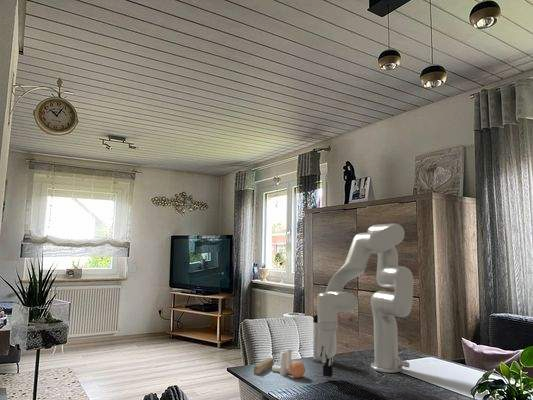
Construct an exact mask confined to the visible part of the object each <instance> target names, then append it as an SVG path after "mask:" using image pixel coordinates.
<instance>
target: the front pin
mask: <svg viewBox="0 0 533 400" xmlns="http://www.w3.org/2000/svg"><path fill="white" fill-rule="evenodd" d="M271 372H274V373H280V365H275V364H274V365H273V366H272V367H271ZM286 375H291V373H290V368H289V367H287V371H286Z"/></svg>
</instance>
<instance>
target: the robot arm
mask: <svg viewBox="0 0 533 400" xmlns="http://www.w3.org/2000/svg"><path fill="white" fill-rule="evenodd" d="M404 238H405V230H404V227H403V226H402V225H400V224H399V223H382V224H380V223H379V224H373V225H370V226H369V227H368V229H367V232H360V233H357V234H355V235H354V236H353V239H352V240H351V244H350V246H349V251H348V254H347V255H346V257H345V258H346V259H345V261H344V264H343V265H342V266H341V267H340V268H339V269H338V270H337V271H336V272H335V273H334V274H333V276H332V277H331V278H330V279H329V282H328V285H327V287H326V290H325V292H320V293H318V295H317V315H318V330H319V332H318V344H317V357H318V358H320V357H321V356H322V371H323V372H322V373H323V374H322V375H323V377H328V378H331V377H332V376H333V374H334V372H333V368H334V367H333V364H334V363H333V362H334V361H333V359H334V356H335V355H336V354H337V333H336V332H337V331H339V330H338V312H343V313H351V312H353V311H354V310H355V309H356V308H357V306H358V299H357V297H356V295H354V294H353V293H351V292H347V291H343V289H344V287H345V286H346V285H347V284H348V283H349V282H350V281H352V280H353V279H355V278H357V277H360V276H361V275H363V274H364V273H365V271H366V267H367V265H368V261H369V258H370V256H371V254H377V262H376V263H377V265H376V283H377V285H378V286H380V287H382V288H388V289H394V291H390V290H388V291H387V290H378V291H375V292H374V293H373V294H372V295H371V297H370V307H371V312H372V319H373V346H374V347H373V348H374V349H373V351H374V353H373V354H374V357H373V358H374V362H371V363H370V368H371V369H372V370H374V371H377V372H381V373H391V374H392V373H400V372H402V371H403V367H404V368H410V366H411V365H410V362H408V361H407V360H402V359H400V358H401V357H400V356H399V348H398V347H399V345H398V343H399V341H398V324H397V323H398V322H397V320H396V318H395V317H399V318H406V317H407V316H409V314H410V313H411V311H412V309H413V308H412V307H413V298H414V297H413V296H414V285H415V283H414V275H413V273H412V271H411V269H410V268H408V267H406V266H404V265H403V266H402V265H399V253H398V250H397V248H396V247H395V246H397V245H399V244H401V242H402V241H403V240H404Z"/></svg>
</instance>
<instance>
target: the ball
mask: <svg viewBox="0 0 533 400" xmlns="http://www.w3.org/2000/svg"><path fill="white" fill-rule="evenodd" d="M290 373H291V374H290V375H291V376H292V377H293V378H295V379H300V378H301V377H303V376H304V375H305V373H306V366H305V364H304V363H303V362H301V361H299V360H296V361H293V362H291V365H290Z"/></svg>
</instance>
